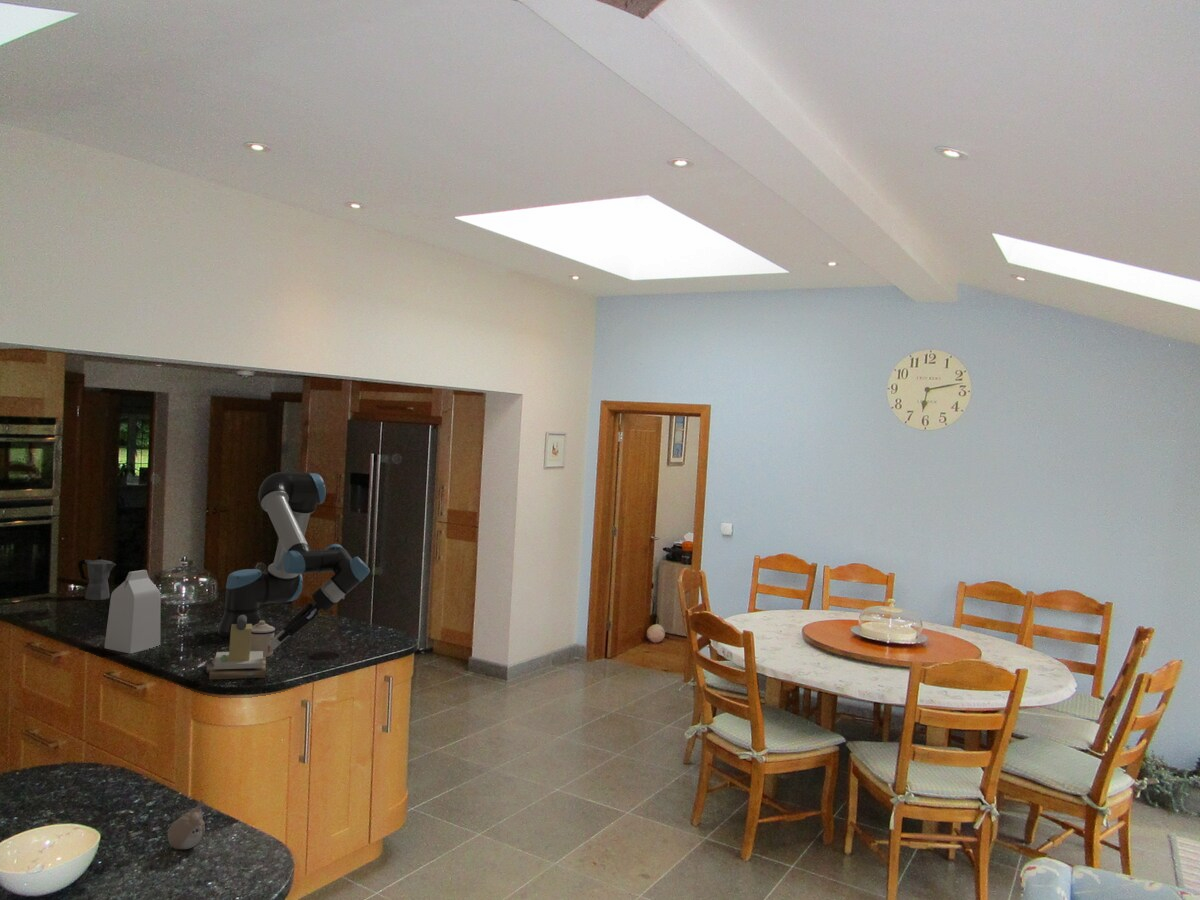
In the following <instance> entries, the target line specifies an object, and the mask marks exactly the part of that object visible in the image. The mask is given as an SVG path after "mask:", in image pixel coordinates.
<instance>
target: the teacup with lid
mask: <svg viewBox="0 0 1200 900" xmlns="http://www.w3.org/2000/svg"><path fill="white" fill-rule="evenodd" d="M275 632H276V628H275V627H274V626H273V625H269V624H268V623H266V621H265V620H260V621H259V624H256V625H254V626H252V630H251V644H250V651H263V657H266V658H268V657H272V656H273V654H274V650H273V649H272V648H271V647H270V646H269V645H268V642H270V641H271V640H272V639H273V638H274V637H275Z"/></svg>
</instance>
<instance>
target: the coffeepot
mask: <svg viewBox="0 0 1200 900" xmlns="http://www.w3.org/2000/svg"><path fill="white" fill-rule="evenodd" d="M97 557H98V558H97V559H95V560H92V559H81V560H80V561H79V562H78V563H77V568H78V571H79V575H80V579H81V580H87V579H89V580H88V584H87V587H86V592H85V596H84V599H85V600H88V601H104V600H108V599H110V598H111V594H110V587H109V582H108V581H109V580H108V579H109V578H110V573H111V571H112V569H113V568H114V567H115V566H116V565H117V564H116V563H115V562H113V561H111V560H106V559H102V558H103V555H102V554H99V555H97ZM83 565H86V566H87V576H85V572H84V566H83Z"/></svg>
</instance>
